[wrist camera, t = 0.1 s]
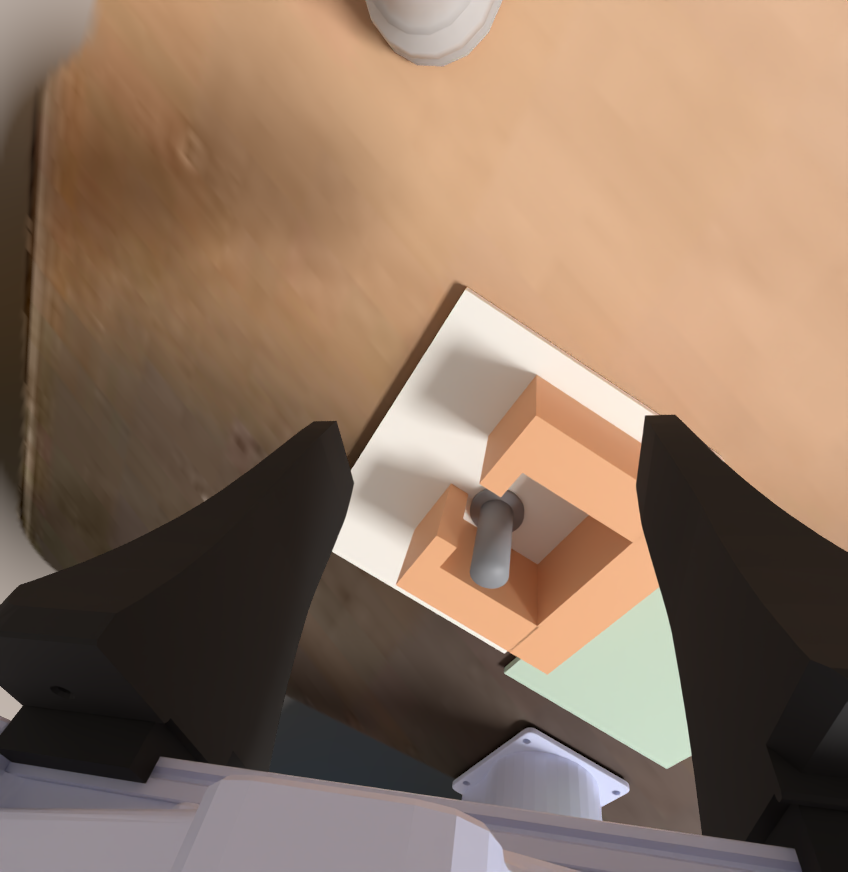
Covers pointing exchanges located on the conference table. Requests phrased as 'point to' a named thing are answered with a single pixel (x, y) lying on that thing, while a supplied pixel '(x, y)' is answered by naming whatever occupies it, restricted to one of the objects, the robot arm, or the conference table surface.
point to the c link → (569, 561)
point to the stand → (469, 448)
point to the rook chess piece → (433, 27)
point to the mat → (623, 683)
